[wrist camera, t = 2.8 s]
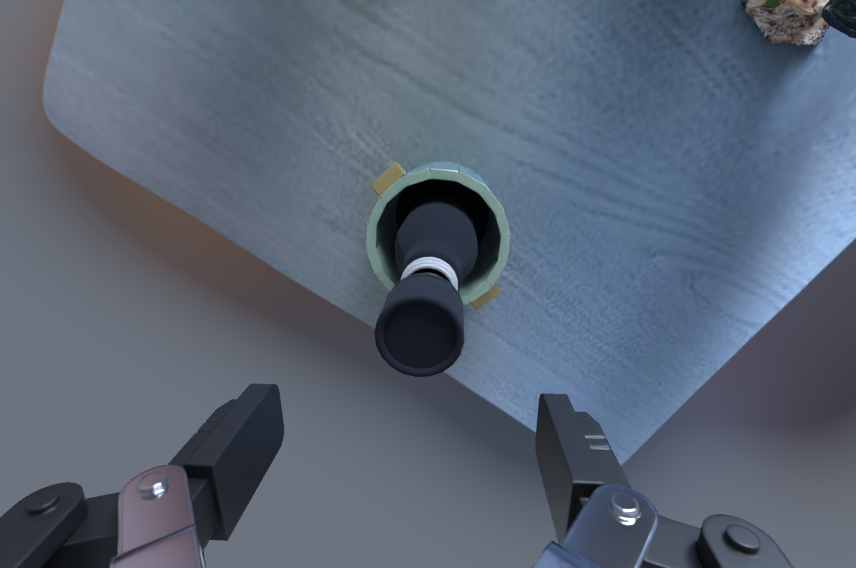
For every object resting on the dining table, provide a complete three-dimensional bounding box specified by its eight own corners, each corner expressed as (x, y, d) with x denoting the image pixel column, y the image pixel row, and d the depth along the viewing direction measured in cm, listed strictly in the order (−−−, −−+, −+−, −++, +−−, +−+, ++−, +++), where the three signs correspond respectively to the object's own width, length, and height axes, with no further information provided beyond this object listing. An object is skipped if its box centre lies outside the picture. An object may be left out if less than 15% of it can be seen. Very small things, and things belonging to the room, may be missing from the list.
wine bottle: (456, 254, 48) (457, 424, 20) (403, 231, 47) (324, 370, 19) (481, 201, 46) (522, 303, 17) (426, 176, 45) (375, 240, 17)
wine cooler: (442, 127, 44) (437, 123, 32) (524, 232, 47) (547, 264, 35) (359, 201, 47) (326, 222, 35) (441, 295, 50) (437, 345, 38)
